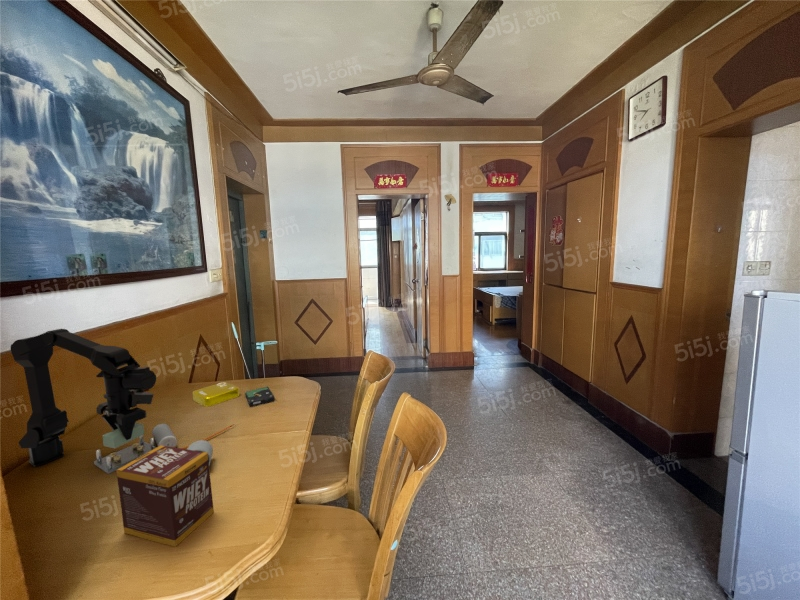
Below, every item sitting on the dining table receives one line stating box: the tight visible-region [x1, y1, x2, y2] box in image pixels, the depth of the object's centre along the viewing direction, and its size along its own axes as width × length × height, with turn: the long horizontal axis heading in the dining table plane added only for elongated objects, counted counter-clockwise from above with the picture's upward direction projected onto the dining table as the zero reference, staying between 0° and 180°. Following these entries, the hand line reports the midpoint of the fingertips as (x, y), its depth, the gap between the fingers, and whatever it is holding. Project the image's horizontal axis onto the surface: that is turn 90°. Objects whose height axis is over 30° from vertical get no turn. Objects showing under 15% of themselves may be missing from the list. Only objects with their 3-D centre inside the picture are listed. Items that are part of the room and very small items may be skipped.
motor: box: [151, 423, 236, 449], centre depth 118 cm, size 23×22×5 cm
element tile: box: [192, 381, 240, 408], centre depth 149 cm, size 15×15×5 cm
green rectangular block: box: [101, 422, 145, 449], centre depth 103 cm, size 8×5×4 cm, turn 163°
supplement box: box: [115, 445, 215, 548], centre depth 76 cm, size 10×15×16 cm
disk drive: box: [244, 386, 276, 408], centre depth 147 cm, size 10×3×15 cm
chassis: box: [93, 435, 158, 475], centre depth 103 cm, size 13×10×4 cm
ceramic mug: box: [187, 439, 214, 466], centre depth 96 cm, size 11×8×8 cm
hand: (124, 437), depth 103 cm, fingers closed on green rectangular block, 5 cm apart
